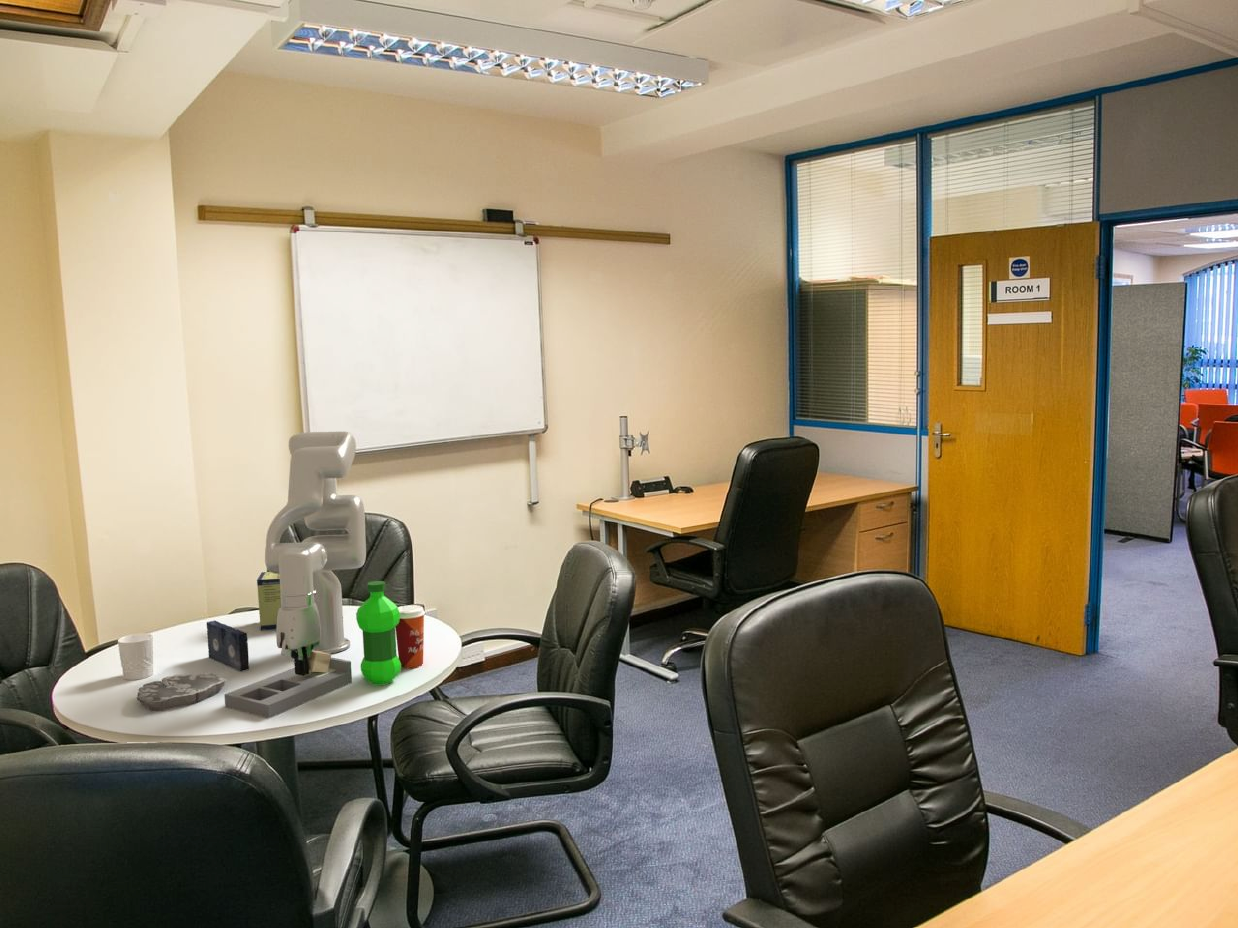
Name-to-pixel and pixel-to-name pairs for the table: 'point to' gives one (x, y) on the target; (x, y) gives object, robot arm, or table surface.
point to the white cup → (136, 656)
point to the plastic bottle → (379, 636)
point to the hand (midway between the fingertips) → (302, 673)
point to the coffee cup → (410, 636)
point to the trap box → (289, 689)
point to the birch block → (319, 661)
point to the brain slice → (179, 690)
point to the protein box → (269, 599)
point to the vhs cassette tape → (228, 645)
